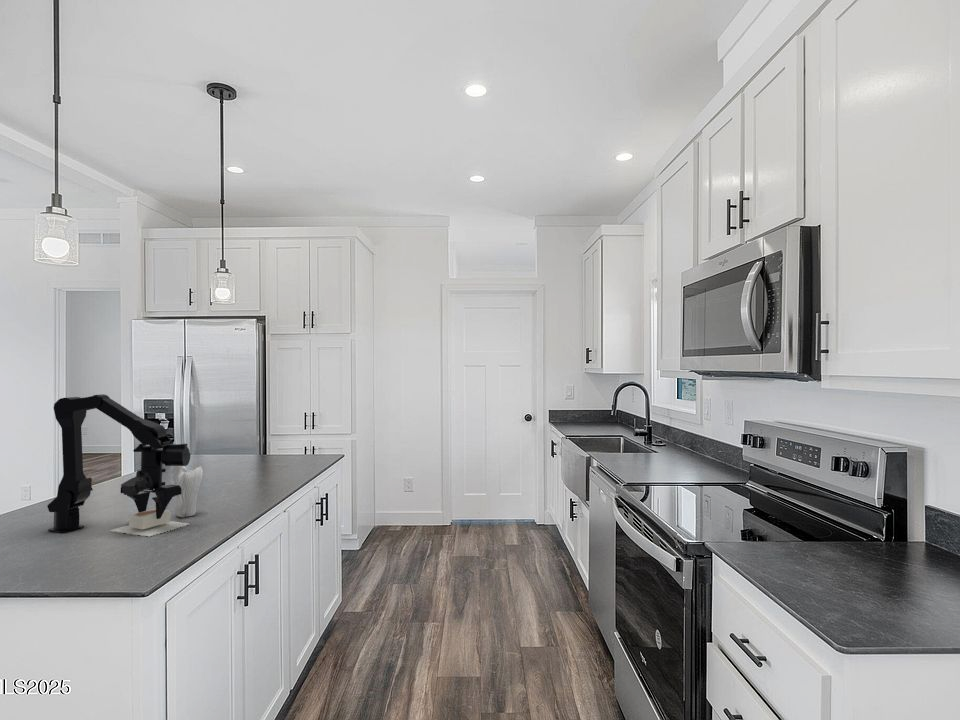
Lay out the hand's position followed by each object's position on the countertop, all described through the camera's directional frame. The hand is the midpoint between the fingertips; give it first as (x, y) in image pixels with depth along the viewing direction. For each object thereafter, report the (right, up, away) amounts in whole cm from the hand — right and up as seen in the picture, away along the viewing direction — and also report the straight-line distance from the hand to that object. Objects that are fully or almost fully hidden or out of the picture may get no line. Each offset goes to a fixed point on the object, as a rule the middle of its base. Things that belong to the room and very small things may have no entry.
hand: (150, 517), depth 170 cm
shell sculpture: (+3, -4, +15) cm, 15 cm away
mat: (0, -3, 0) cm, 3 cm away
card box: (0, -2, 0) cm, 2 cm away
